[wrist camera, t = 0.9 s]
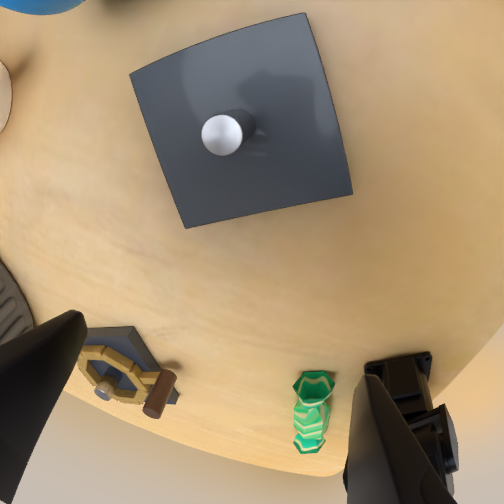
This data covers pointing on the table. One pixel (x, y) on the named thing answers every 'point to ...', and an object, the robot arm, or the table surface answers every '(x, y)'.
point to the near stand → (244, 123)
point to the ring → (139, 378)
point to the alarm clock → (40, 6)
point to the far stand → (130, 347)
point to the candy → (312, 410)
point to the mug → (4, 96)
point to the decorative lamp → (12, 308)
